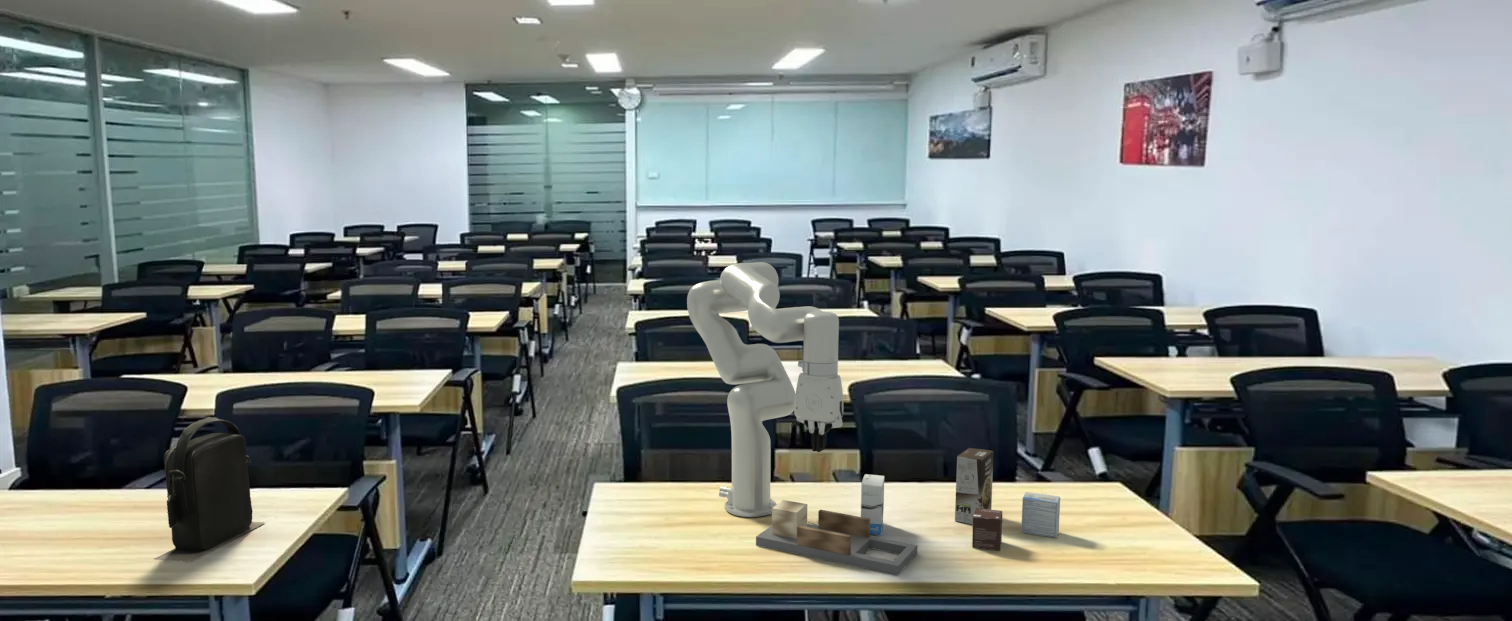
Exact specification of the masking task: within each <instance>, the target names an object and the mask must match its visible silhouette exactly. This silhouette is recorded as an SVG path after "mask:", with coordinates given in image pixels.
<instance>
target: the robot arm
mask: <svg viewBox="0 0 1512 621" xmlns="http://www.w3.org/2000/svg"><path fill="white" fill-rule="evenodd" d="M778 287H779V275H778V273H777V271H776V269H775V267H774V266H773V265H771V264H770V263H767V262H764V261H763V262H762V261H759V262H756V261H755V262H739V263H733V264H730V265H728V266H727V267H725V268H724V269H723V271H722V272H721V273H720V277H719V279H718V280H717V279H716V280H708V281H702V282H699V283H696V284H694V285H693V286H692V287H691V288H690V289H689V291H688V293H687V297H686V304H687V305H686V307H687V312H688V317H689V319H690V322H691V323H692V325H693V327H694V329H695V330H696V332H697V334H699V336H700V338H702V340H703V342H704V344H705V345H706V348H707V350H708V353H709V355H710V357H711V359H712V361H713V364H714V366H715V368H716V370H717V372H718V374H719V376H720V378H721V380H722V381H723V382H724V383H725V384H727V385H736V386H735V387H733V388H732V389H731V390H730V391H729V393H728V395H727V402H726V403H727V405H726V406H727V409H728V410H727V411H728V414H729V422H730V431H731V487H727V486H723V485H722V486H720V488H719V490H718V491H719V492H718V496H719V497H721V498H726V499H727V501H726V502H725V510H726V511H727V512H728V513H729V514H731V515H734V516H738V517H743V518H745V517H746V518H758V517H765V516H769V515H772V508H773V507H774V506H776V505H777V504H778V503H777V502H776V501H775V500H773V499H772V498H771V448H772V447H771V438H770V435H769V434H770V433H769V432H768V431H767V429H766V427H765V426H764V425H763V422H764V421H766V420H767V421H768V420H772V419H773V420H774V419H778V418H783V417H786V416H789V415H791V414H792V413H793V414H794V416H795V417H796V419H795V420H796V421H797V422H799V423H801V424H804V425H805V426H806V427H807V429H808V431H809V433H810V434H811V435H810V436H811V438H810V446H811V449H812V452H817V453H820V452H823V451H824V450H825V448H826V446H827V438H828V437H827V436H828V435H827V433H829V431H830V430H831V429H836V428H841V427H842V426H843V419H842V418H843V417H844V391H843V385H842V384H843V383H842V380H841V375H840V374H838V372H839V371H838V370H839V369H838V368H839V335H840V334H839V332H840V331H839V330H840V319H839V316H838V314H836V313H834V312H832V311H823V310H821V309H819V308H818V307H816V306H809V305H808V306H794V307H783V308H777V307H778V306H777V305H779V301H780V295H781V293H780V289H779V288H778ZM746 311H747V316H748V320H749V322H750V325H751V327H752V328H753V330H754V331H755V332H756V333H758V334H759V335H760V336H761V337H763V338H764V339H766V340H768V341H770V342H771V343H775V344H783V343H791V342H799V341H801V342H802V341H803V351H802V352H803V357H802V358H803V359H802V360H799V361H798V362H797V366H798V367H799V368H801V369H802V372H800V373H799V374H798V379H797V383H796V389H795V388H794V386H793V383H792V381H791V379H790V377H789V375H788V374H787V373H788V372H787V371H786V369H785V367H784V365H783V362H782V361H781V358H780V357H779V355H778V354H777V351H776V350H774V348H773V347H771V346H770V345H768V344H766V343H755V344H752V343H751V344H745V343H744V342H743V341H742V339H741V337H740V335H739V333H738V331H737V329H736V328H735V327H734V325H733V324H732V323H730V322H729V321H728V320H727V319H725V318H724V317H722V316H721V315H720V314H729V313H738V312H739V313H740V312H746Z"/></svg>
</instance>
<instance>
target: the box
mask: <svg viewBox="0 0 1512 621" xmlns="http://www.w3.org/2000/svg"><path fill="white" fill-rule="evenodd" d="M1002 530H1003V510H998V509H991V510H990V509H981V508H976V509H975V512H974V515H973V524H972V534H971V536H972V537H971V538H972V541H971V544H972V545H971V547H972V548H973V549H980V548H981V550H991V551H998V552H999V551H1001V546H1002V536H1003V535H1002Z"/></svg>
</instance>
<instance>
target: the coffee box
mask: <svg viewBox="0 0 1512 621" xmlns="http://www.w3.org/2000/svg"><path fill="white" fill-rule="evenodd" d="M994 453H995V451H993V450H988V449H981V448H972V447H968V448H967V449H966V450H964V451H963V452H961V453H960V454H958V455H957V457H956V474H955V475H956V479H955V480H956V481H955V504H954V505H955V507H954V521H955V522H959V523H964V524H968V525H969V524H970V525H973V515H974V512H975V509H976V508H981V509H990V510H992V502H993V499H992V498H993V475H994V474H993V472H994Z"/></svg>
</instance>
